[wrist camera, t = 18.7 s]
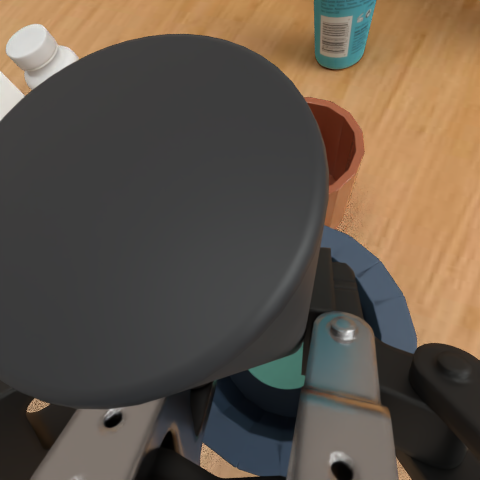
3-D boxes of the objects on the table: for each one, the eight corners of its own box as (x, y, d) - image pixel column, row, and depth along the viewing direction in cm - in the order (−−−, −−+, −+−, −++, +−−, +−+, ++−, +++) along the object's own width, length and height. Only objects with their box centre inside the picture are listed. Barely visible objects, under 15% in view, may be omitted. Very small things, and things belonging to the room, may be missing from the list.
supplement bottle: (92, 97, 36) (23, 13, 27) (127, 107, 35) (66, 21, 25) (67, 133, 35) (-14, 57, 26) (102, 145, 33) (28, 68, 24)
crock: (300, 263, 25) (300, 226, 17) (237, 205, 28) (214, 152, 20) (365, 200, 25) (392, 138, 18) (298, 150, 28) (297, 79, 21)
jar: (289, 463, 20) (279, 558, 11) (189, 334, 24) (121, 325, 15) (401, 344, 21) (478, 339, 12) (288, 240, 25) (280, 178, 16)
